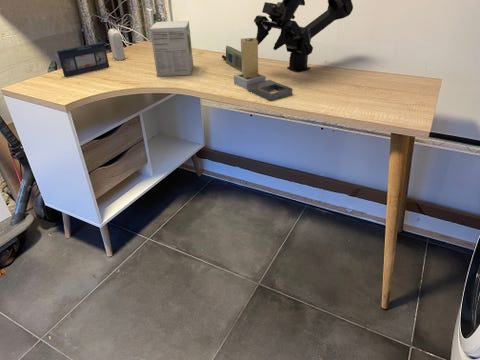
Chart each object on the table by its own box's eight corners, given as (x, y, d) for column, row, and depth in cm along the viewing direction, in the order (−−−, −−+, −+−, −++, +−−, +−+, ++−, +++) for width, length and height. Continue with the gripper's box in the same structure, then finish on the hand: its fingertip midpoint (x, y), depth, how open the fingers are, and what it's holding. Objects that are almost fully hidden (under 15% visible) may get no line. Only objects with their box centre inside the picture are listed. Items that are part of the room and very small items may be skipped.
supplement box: (190, 75, 144) (185, 27, 135) (156, 76, 144) (149, 28, 135) (194, 65, 155) (189, 20, 146) (162, 66, 156) (155, 21, 146)
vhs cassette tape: (66, 77, 148) (58, 51, 143) (63, 76, 150) (56, 50, 144) (110, 67, 157) (104, 43, 152) (107, 66, 159) (102, 41, 154)
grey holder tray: (248, 91, 127) (247, 85, 126) (269, 85, 131) (269, 79, 130) (269, 101, 118) (269, 95, 117) (292, 94, 122) (292, 88, 121)
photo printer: (126, 59, 167) (120, 30, 161) (117, 61, 166) (110, 31, 159) (121, 54, 175) (115, 26, 168) (112, 56, 173) (105, 27, 167)
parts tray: (252, 79, 137) (252, 70, 136) (265, 84, 132) (265, 76, 130) (234, 83, 134) (233, 75, 132) (246, 89, 128) (246, 80, 126)
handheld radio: (244, 75, 142) (219, 60, 162) (252, 74, 144) (226, 59, 163) (245, 57, 139) (218, 44, 158) (253, 56, 140) (226, 43, 159)
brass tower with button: (255, 73, 134) (255, 37, 127) (258, 77, 129) (257, 40, 123) (241, 74, 133) (240, 38, 126) (243, 78, 129) (242, 41, 122)
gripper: (257, -10, 130) (234, 29, 131) (297, -7, 118) (271, 37, 118) (273, 11, 139) (251, 48, 139) (312, 16, 126) (288, 57, 127)
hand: (264, 47), depth 130 cm, fingers open, 9 cm apart
